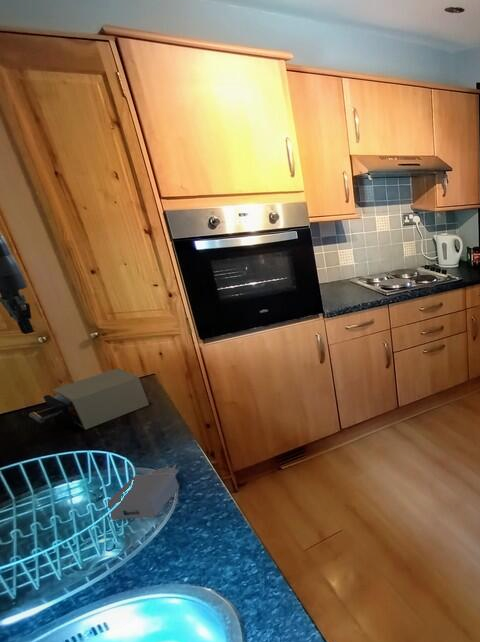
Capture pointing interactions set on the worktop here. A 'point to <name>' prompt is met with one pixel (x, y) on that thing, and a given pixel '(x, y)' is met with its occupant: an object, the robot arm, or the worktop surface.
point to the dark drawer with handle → (57, 413)
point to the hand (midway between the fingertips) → (28, 332)
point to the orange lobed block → (66, 403)
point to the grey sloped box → (104, 396)
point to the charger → (145, 494)
